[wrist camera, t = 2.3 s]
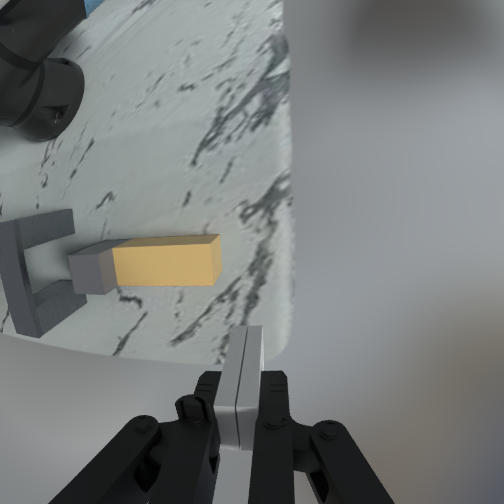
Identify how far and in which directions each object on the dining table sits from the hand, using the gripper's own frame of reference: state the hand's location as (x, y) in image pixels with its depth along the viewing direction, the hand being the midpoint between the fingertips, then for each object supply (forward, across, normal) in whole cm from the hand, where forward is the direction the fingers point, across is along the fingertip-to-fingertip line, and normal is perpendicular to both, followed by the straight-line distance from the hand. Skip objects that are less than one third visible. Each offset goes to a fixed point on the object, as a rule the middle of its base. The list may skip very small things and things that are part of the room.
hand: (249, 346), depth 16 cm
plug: (+24, -14, 0) cm, 28 cm away
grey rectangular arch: (+24, -32, 0) cm, 41 cm away
